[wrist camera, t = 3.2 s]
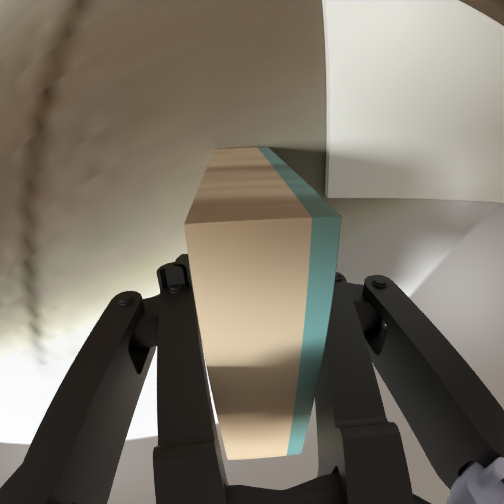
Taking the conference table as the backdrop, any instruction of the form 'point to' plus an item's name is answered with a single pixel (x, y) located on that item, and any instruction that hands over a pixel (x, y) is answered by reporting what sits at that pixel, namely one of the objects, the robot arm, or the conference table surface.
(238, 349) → the block
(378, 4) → the mat
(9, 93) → the conference table surface
